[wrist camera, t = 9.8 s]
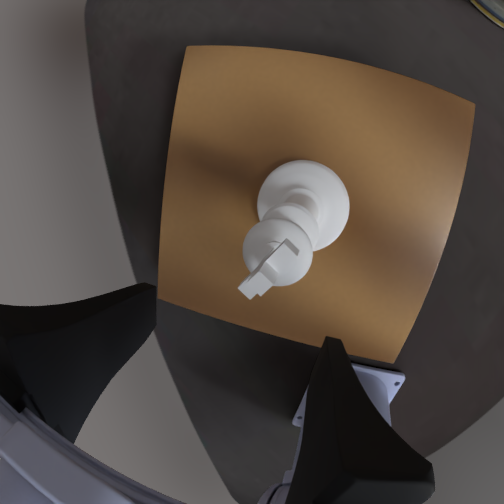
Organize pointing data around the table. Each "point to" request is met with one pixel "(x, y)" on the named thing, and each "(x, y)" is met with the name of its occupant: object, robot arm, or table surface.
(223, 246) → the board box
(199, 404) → the table surface
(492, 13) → the apothecary jar
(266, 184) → the chess piece
